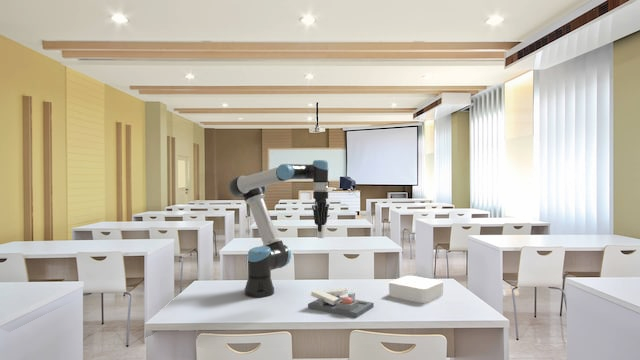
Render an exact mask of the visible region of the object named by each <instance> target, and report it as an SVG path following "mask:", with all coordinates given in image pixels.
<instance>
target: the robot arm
mask: <svg viewBox="0 0 640 360" xmlns="http://www.w3.org/2000/svg"><path fill="white" fill-rule="evenodd" d="M328 163H329V162H328V161H327V160H325V159H323V160H322V159H319V160H318V159H317V160H315V159H314V160H313V162H312V164H301V163H300V164H295V163H283V164H282V163H281V164H280V165H278V167H274V168H271V169H270V168H269V169H267V170H262V171H260V172H257V173H253V174H249V175H247V176H246V175H239V176H235V177H233V178H232V179H231V180H230V181H229V183H228V191H229V193H230V194H231V195H232V196H233V197H235V198H238V199H239V198H241V199H242V198H243V200H244V202H245V204H247V205H249V207H250V210H251V213H252V217H253V219H254V221H255V225H256V227H257V230H258V232H259V235H260V238H261V242H262V245H261V246H255V247H252V248H250V249H249V250H248V251H247V281H246V284H245V287H244V295H245V296H247V297H250V298H251V297H252V298H262V297H264V298H265V297H270V296H272V295H273V294H275V287H274V284H273V281H272V274H271V273H272V272H271V271H273V270H277V269H282V268H283V267H286V266H287V265H288V264H289V263H290V262H291V259H292V253H291V249H290V248H289V246H288V245H285V244H284V243H283V240H282V239H281V238H279V237H278V234H277V232H276V228H275V227H274V223H273V221H272V218H271V216H270V213H269V209H268V207H267V204H266V201H265V200H264V199H265V197H266V189H267V186H270V185H274V184H277V183H281V182H285V181H290V180H312V191H313V192H312V198H313V199H314V200H315V201H314V204H313V205H311V208H312V211H313V212H312V213H313V220H314V225H316V226H317V239H324V238H325V225H327V221H328V212H329V207H330V204H329V203H327V199H329V164H328Z"/></svg>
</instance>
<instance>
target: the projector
mask: <svg viewBox="0 0 640 360" xmlns="http://www.w3.org/2000/svg"><path fill="white" fill-rule="evenodd" d="M388 296H389V297H392V298H396V299H401V300H406V301H410V302H415V303H419V304H428V303H429V302H431V301H434V300H436V299H438V298H440V297H443V296H444V281H443V280H438V279H432V278H427V277H421V276H416V275H404V276H402V277H398V278H396V279H395V278H394V279H393V280H390V281H389V282H388Z"/></svg>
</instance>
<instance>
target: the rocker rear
mask: <svg viewBox="0 0 640 360" xmlns="http://www.w3.org/2000/svg"><path fill="white" fill-rule="evenodd" d="M322 291H323V290H322ZM323 292H326V293H328V294H332V295H333V296H340V297H342V296H344V295H346V294H349V293H348V289H347V288H338V289H328V290H327V289H326V290H324V291H323Z"/></svg>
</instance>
